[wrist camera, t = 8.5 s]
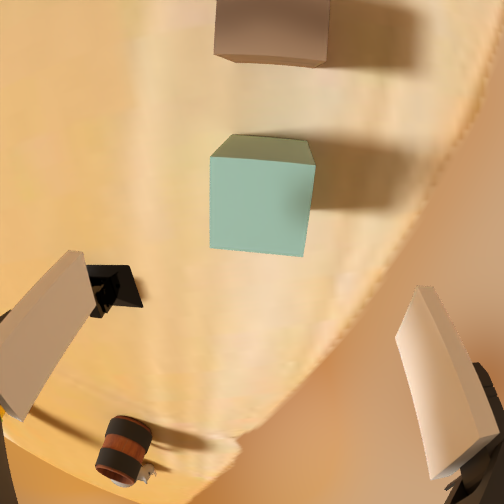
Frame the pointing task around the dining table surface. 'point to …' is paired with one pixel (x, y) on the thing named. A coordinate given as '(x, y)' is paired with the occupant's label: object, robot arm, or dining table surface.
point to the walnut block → (272, 31)
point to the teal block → (261, 195)
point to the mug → (123, 449)
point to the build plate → (112, 288)
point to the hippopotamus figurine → (140, 475)
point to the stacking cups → (2, 412)
